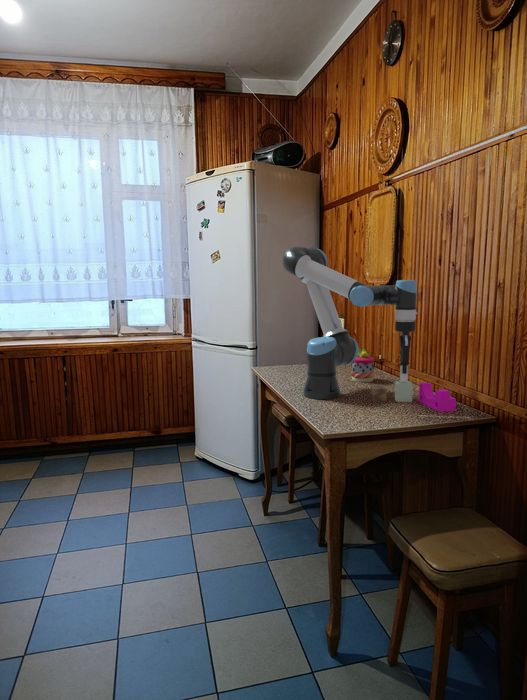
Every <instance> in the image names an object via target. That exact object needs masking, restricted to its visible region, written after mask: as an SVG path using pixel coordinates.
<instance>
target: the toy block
mask: <svg viewBox="0 0 527 700" xmlns="http://www.w3.org/2000/svg"><path fill="white" fill-rule="evenodd" d="M418 387H419V391H418V403H419V402H420V403H422V404H423V405H425V406H427V407H429V408H431V409H433V410H435V411H438V412H442V413H443V412H455V411H456V410H457V409H456V408H457V398H455V397H453V396H451V391H450V390H449V389H445V388H443V389H436V390H435V393H434V391H433V387H432V383H431V382H419V385H418Z"/></svg>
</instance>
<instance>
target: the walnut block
mask: <svg viewBox="0 0 527 700" xmlns="http://www.w3.org/2000/svg"><path fill="white" fill-rule="evenodd" d="M387 393H388V392H387V388H386V387H385V385H371V386H370V399H371V401H372V402H387Z"/></svg>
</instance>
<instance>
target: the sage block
mask: <svg viewBox="0 0 527 700" xmlns="http://www.w3.org/2000/svg"><path fill="white" fill-rule="evenodd" d="M413 385H414V384H413V382H412V381H410V380H408V382H400V380H394V400H395V402H399V403H400V402H401V403H413V387H414V386H413Z"/></svg>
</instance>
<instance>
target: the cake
mask: <svg viewBox="0 0 527 700" xmlns="http://www.w3.org/2000/svg"><path fill="white" fill-rule="evenodd" d="M358 349H359V350H358V355H357V357H356V359H355V360H354V361H353V362H351V363H350V364H351V365H350V366H351V373H350V376H351V381H353V382H356V383H357V382H358V383H370V382H373V381H374V376H375V373H374V370H375V358H374V357H371V354H370V353H368V352H367V349H366V348H363V349H362V350H361V348H358Z"/></svg>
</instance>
